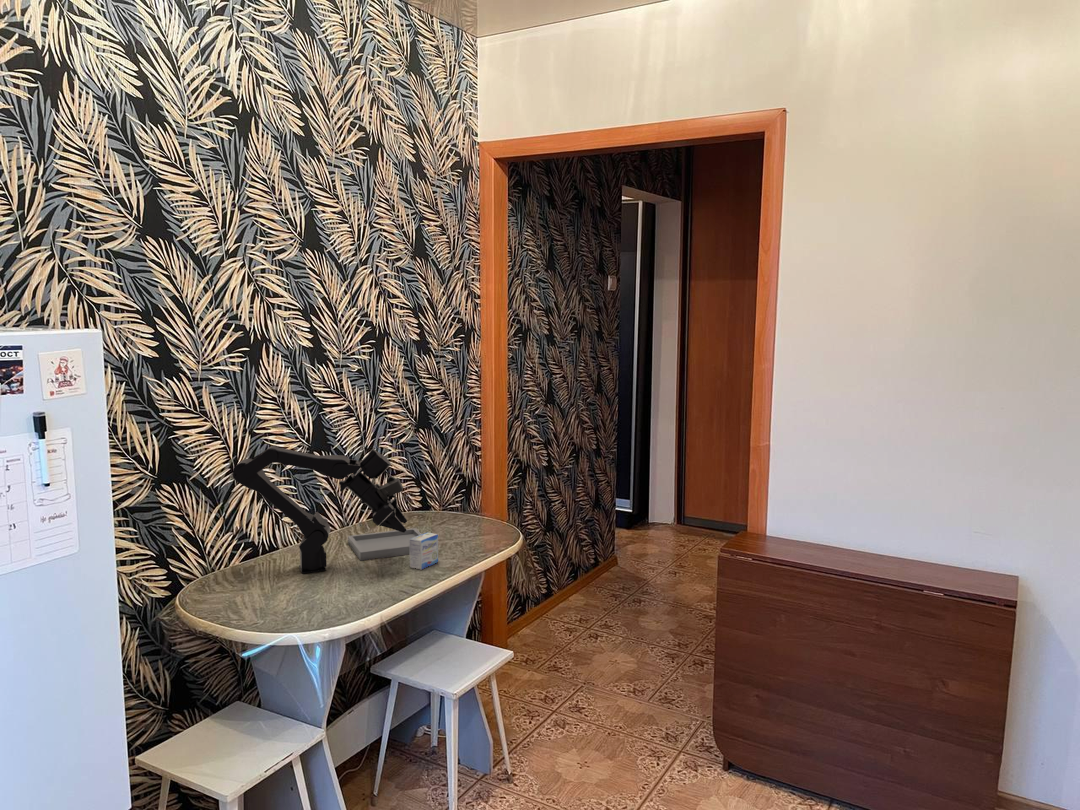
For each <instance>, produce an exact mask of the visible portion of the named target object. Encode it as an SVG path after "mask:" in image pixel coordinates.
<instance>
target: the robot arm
mask: <svg viewBox="0 0 1080 810" xmlns="http://www.w3.org/2000/svg"><path fill="white" fill-rule="evenodd" d="M273 463H276V464H282V465H285V466H286V465H287V466H292V467H297V468H303V469H306V470H307V469H309V470H314V471H317V472H319V473H322V474H323V475H325V476H327V477H330V478H332V479H336V480H340V481H339V491H340V493H342V492H343V491H344V490H345V489H346V488H347V489H349V491H350V492H352V493H353V495H354V496H356V497H357V498H358V499H359V500H360V503H361V504H362V505H363V504H365V505H366V506H367V507H368V508H369V509H371V513H372V523H374V524H375V525H376V526H379V527H384V528H387V529H392V530H393V531H395V530H397V531H400V532H403V533H404V532H405V531H406V529H407V528H406V527H405V526H404V524H406V523H407V522H408V520H407V518H406V517H405V515H404V513H403V512H402V511H401V509H400V507H399V506H398V500H397V499H398V498H397V496H396V495H397V494H399V493H401V492H402V491H404V487H403V483H402V482H401V479H400V478H398V477H397V478H396V477H394V476H393V475H391V476H389V477H387V481H386V483H384V484H383V485H380V484H378V483H373V481H371V480H372V479H376V480H377V479H378V478H379V477H381V475H383V473H384V472H385V471H387V469H388V468H389V467H390V466H391V465H392V463H391V461H390V460H389V459H387V457H386V456H385V455H384V454H382V453H381V452H379V451H377V450H375V449H374V448H372V449H370V451H369V452H368V454H367V455H366V456H365V457H364V458H363V459H362V460H359V459H350V458H349V457H348V456H346V455H342V454H340V455H339V454H327V455H326V454H325V455H318V454H315V453H313V454H312V453H308V452H303V451H298V450H292V449H287V448H282V447H278V446H275V445H271V446H269V447H268V448H267V449H266V450H263V451H262V452H261V453H260V452H259V454H257V455H255V456H254V457H252V458H244V459H242V460H241V461H239V462H238V464H236V465H235V466H234V467H233V470H232V478H233V479H234V481H235V482H237V483H239V484H240V485H242V486H244V487H245V488H247V489H250V490H252V491H255V492H257V493H258V494H260V496H262V497H263V498H265V500H267V501H268V502H269V503H270V504H272V505H273V506H274V507H275V508H276V509H277V510H279V512H281V513H282V514H283V515H285V517H287V518H288V519H289V520H290V521H292V522H293V523H294V524H295V525H296V526H297V527H298V530H299V532H301V534H302V536H303V537H302V538H301V541H300V543H299V546H298V548H299V565H298V568H299V570H300V572H301V574H303V575H305V574H309V573H310V574H311V573H317V572H318V573H319V572H320V573H321V572H325V571H326V570H327V569H326V567H327V566H328V565H327V552H326V551H325V547H324V546H323V545H324V544H326V542H327V541H328V538H329V536H330V533H331V526H330V524H329V523H328V521H329V519H326V518H324V517H323V516H322V515H321V514H320V512H319V511H316V512H315V513H314V514H312V513H309V512H308V511H306V510H305V509H304V508H303V507H302V506H300V505H299V504H298V503H297V502H296V501H295V500H293V499H292V497H290V496H289V495H288V494H286V493H285V492H284V491H283V490H282V489H280V487H278V486H277V485H276V484H275V483H274V482H272V481H271V480H270V479H269V478H268V476H267V474H266V472H265V470H264V469H265V468H266V467H269V465H271V464H273ZM343 479H344V480H343Z"/></svg>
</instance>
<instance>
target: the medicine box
mask: <svg viewBox="0 0 1080 810" xmlns="http://www.w3.org/2000/svg"><path fill="white" fill-rule="evenodd" d="M409 549H410V554H409V567H410V568H411V569H415V568H416V570H421V571H422V569H423V570H425V569H427V568H429V567H431V566H433V565H435V563H436V564H438V563H439V534H437V533H433V532H425V533H422V535H419V536H416V537H414V538H411V539H409ZM437 562H438V563H437ZM428 566H429V567H428ZM426 567H427V568H426ZM424 568H425V569H424Z"/></svg>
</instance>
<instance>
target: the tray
mask: <svg viewBox="0 0 1080 810" xmlns="http://www.w3.org/2000/svg"><path fill="white" fill-rule="evenodd" d="M422 534H423V533H421V532H420V531H419V529H418V528H416V527H415V528H406V531H405V532H404V533H403V532H400V531H397V530H386V531H378V532H371V533H361V534H352V535H347V545H348V546H349V547H350V549H351V550H352V551H353V553H354V554H355V556H356V557H357V558H358V559H359V561H368V560H369V559H370V560H376V559H375V558H378V559H383V558H384V559H385V558H393V557H400V556H408V555H410V549H409V539H411V538H414V537H416V536H419V535H422Z"/></svg>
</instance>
